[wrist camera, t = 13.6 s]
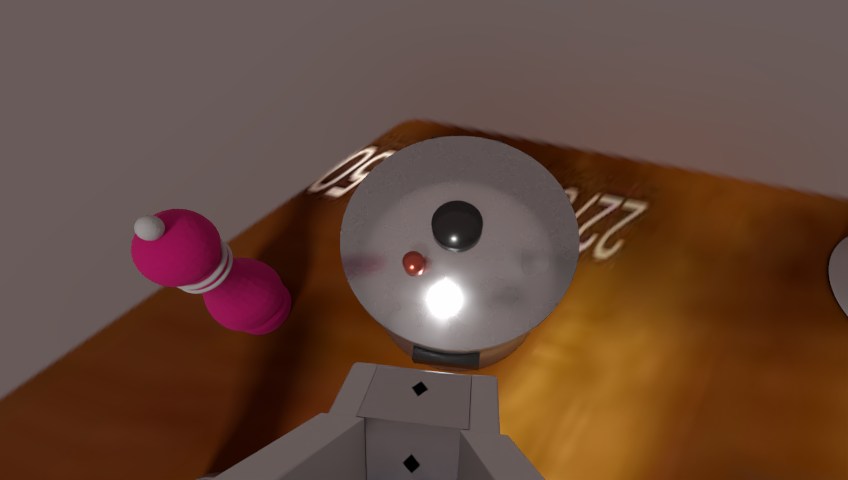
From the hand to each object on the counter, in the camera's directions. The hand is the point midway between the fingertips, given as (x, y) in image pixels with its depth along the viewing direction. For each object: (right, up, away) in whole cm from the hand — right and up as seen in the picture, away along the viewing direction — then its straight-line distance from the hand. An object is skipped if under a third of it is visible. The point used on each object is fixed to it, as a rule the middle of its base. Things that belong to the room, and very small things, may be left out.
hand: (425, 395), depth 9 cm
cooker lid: (+3, +3, +26) cm, 26 cm away
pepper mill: (-18, -4, +37) cm, 42 cm away
